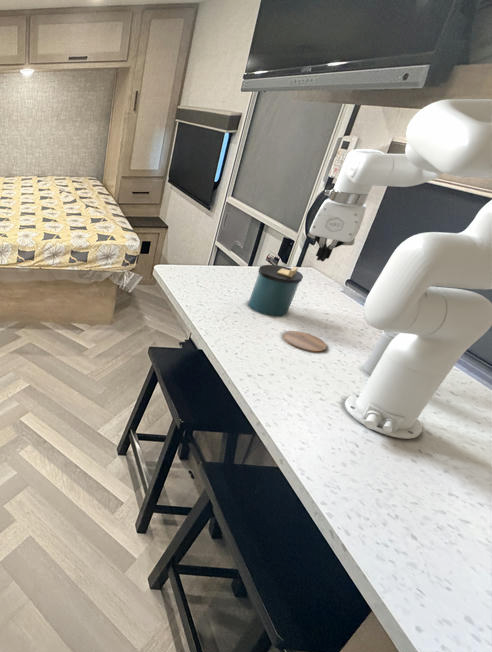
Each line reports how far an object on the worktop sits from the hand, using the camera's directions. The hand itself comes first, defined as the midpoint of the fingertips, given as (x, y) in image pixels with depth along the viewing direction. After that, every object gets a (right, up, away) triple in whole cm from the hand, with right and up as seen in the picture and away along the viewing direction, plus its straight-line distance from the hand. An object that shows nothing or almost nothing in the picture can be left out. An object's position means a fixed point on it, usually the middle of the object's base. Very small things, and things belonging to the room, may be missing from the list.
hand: (321, 259), depth 117 cm
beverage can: (+1, -31, -15) cm, 34 cm away
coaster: (-7, -24, -3) cm, 25 cm away
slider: (-5, -4, +8) cm, 10 cm away
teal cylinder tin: (-6, -15, +15) cm, 22 cm away
